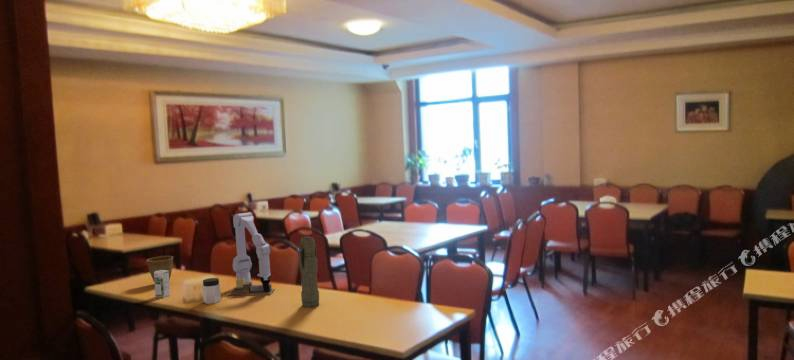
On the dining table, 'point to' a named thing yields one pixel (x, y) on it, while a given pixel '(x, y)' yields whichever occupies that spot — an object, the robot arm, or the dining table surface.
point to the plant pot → (160, 264)
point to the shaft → (255, 288)
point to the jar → (211, 291)
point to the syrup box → (162, 283)
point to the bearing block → (247, 291)
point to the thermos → (308, 271)
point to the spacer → (240, 282)
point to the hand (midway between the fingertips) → (265, 290)
